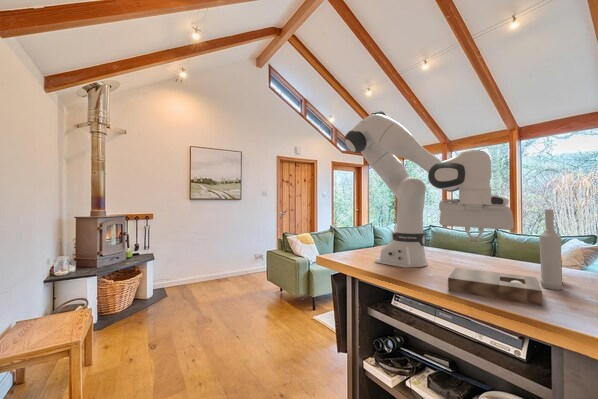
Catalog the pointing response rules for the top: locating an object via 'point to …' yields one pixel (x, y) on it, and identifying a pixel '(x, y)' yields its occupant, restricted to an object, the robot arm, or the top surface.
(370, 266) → the top surface
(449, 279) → the board
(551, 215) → the bottle
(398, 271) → the top surface
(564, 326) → the top surface
